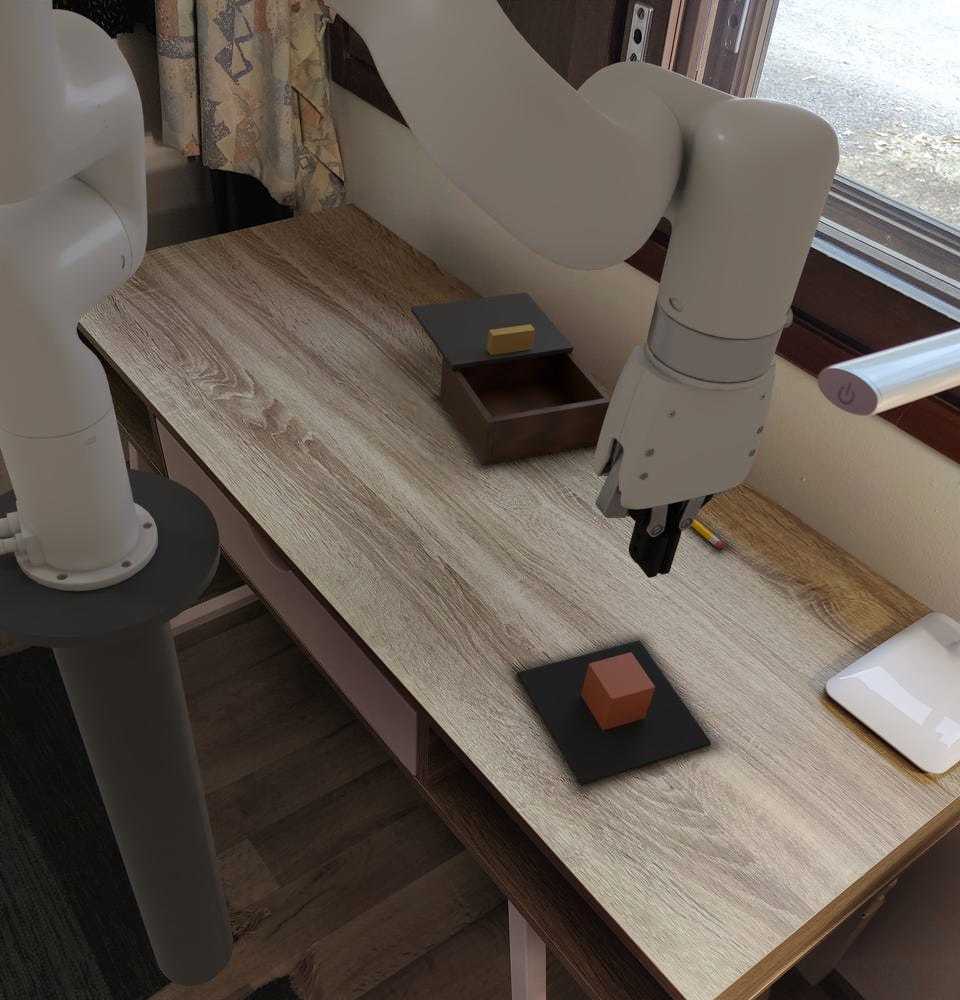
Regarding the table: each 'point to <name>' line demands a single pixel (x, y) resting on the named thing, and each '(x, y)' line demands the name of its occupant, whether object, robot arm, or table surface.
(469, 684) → the table surface
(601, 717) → the block
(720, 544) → the pencil
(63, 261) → the robot arm
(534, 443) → the box
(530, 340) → the sliding lid
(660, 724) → the mat
